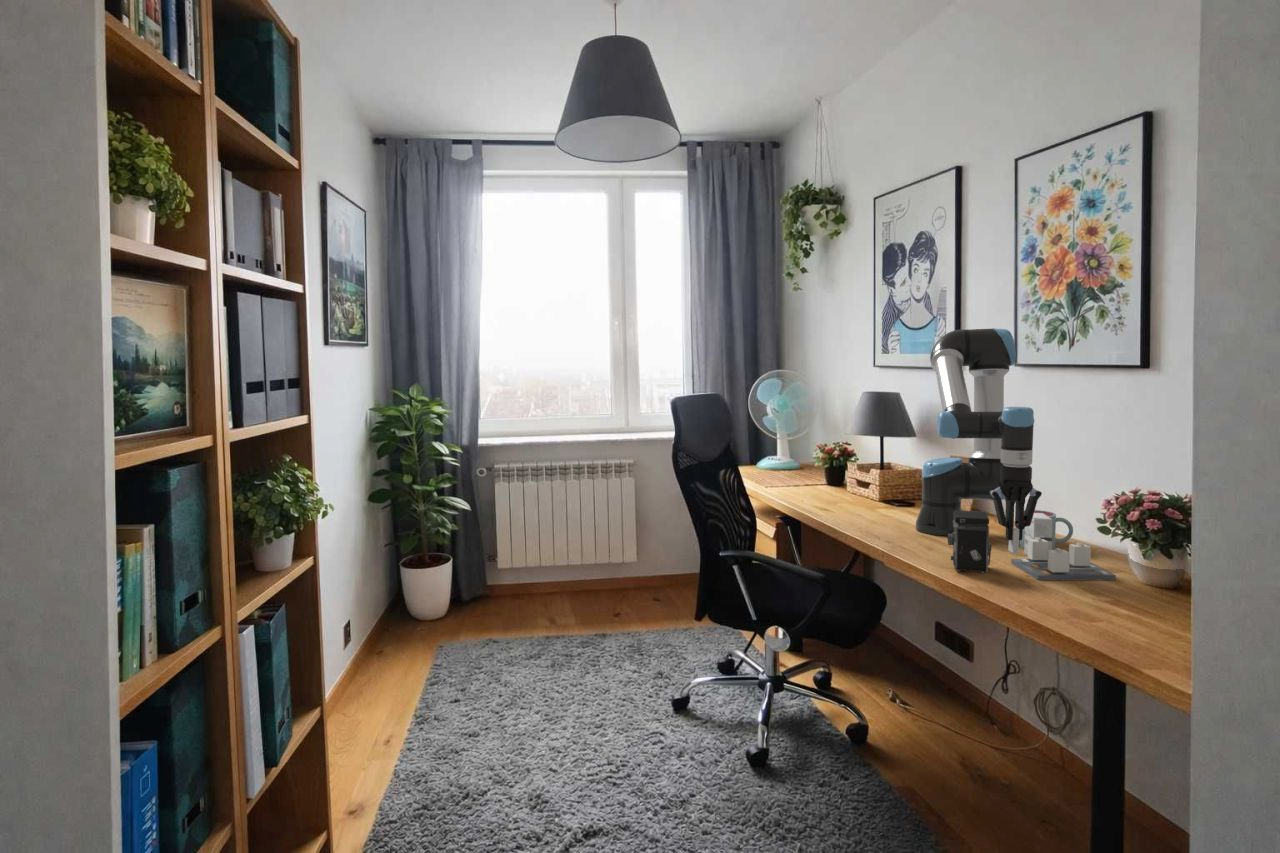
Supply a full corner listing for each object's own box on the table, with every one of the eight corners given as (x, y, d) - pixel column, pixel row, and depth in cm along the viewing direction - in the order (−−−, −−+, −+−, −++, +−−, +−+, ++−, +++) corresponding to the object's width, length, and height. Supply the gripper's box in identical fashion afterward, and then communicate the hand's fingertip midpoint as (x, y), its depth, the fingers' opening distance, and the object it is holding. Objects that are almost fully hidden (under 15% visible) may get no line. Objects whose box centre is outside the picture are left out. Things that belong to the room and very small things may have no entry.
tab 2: (1047, 569, 188) (1048, 547, 188) (1063, 569, 188) (1064, 547, 187) (1052, 572, 186) (1053, 550, 185) (1069, 572, 185) (1070, 550, 185)
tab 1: (1027, 557, 199) (1028, 537, 199) (1042, 557, 199) (1043, 537, 198) (1032, 560, 197) (1032, 539, 196) (1047, 559, 196) (1048, 539, 196)
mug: (1021, 549, 214) (1022, 515, 213) (1017, 541, 222) (1019, 509, 221) (1075, 553, 208) (1076, 518, 207) (1069, 545, 217) (1071, 512, 216)
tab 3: (1068, 563, 193) (1069, 542, 193) (1084, 563, 193) (1085, 542, 192) (1073, 565, 191) (1074, 544, 190) (1089, 565, 190) (1090, 544, 190)
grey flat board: (1011, 563, 200) (1011, 557, 200) (1083, 562, 199) (1083, 557, 199) (1037, 579, 185) (1037, 573, 185) (1115, 579, 184) (1115, 573, 184)
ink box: (1052, 561, 201) (1054, 519, 200) (1032, 560, 202) (1034, 518, 201) (1042, 552, 210) (1043, 512, 209) (1023, 552, 211) (1024, 511, 210)
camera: (987, 564, 200) (989, 509, 198) (992, 575, 190) (994, 518, 188) (946, 561, 203) (947, 507, 202) (948, 572, 193) (950, 516, 192)
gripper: (996, 467, 192) (994, 555, 195) (1048, 467, 191) (1045, 555, 194) (985, 463, 200) (982, 548, 202) (1034, 462, 199) (1031, 548, 201)
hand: (1013, 551), depth 198 cm, fingers closed
